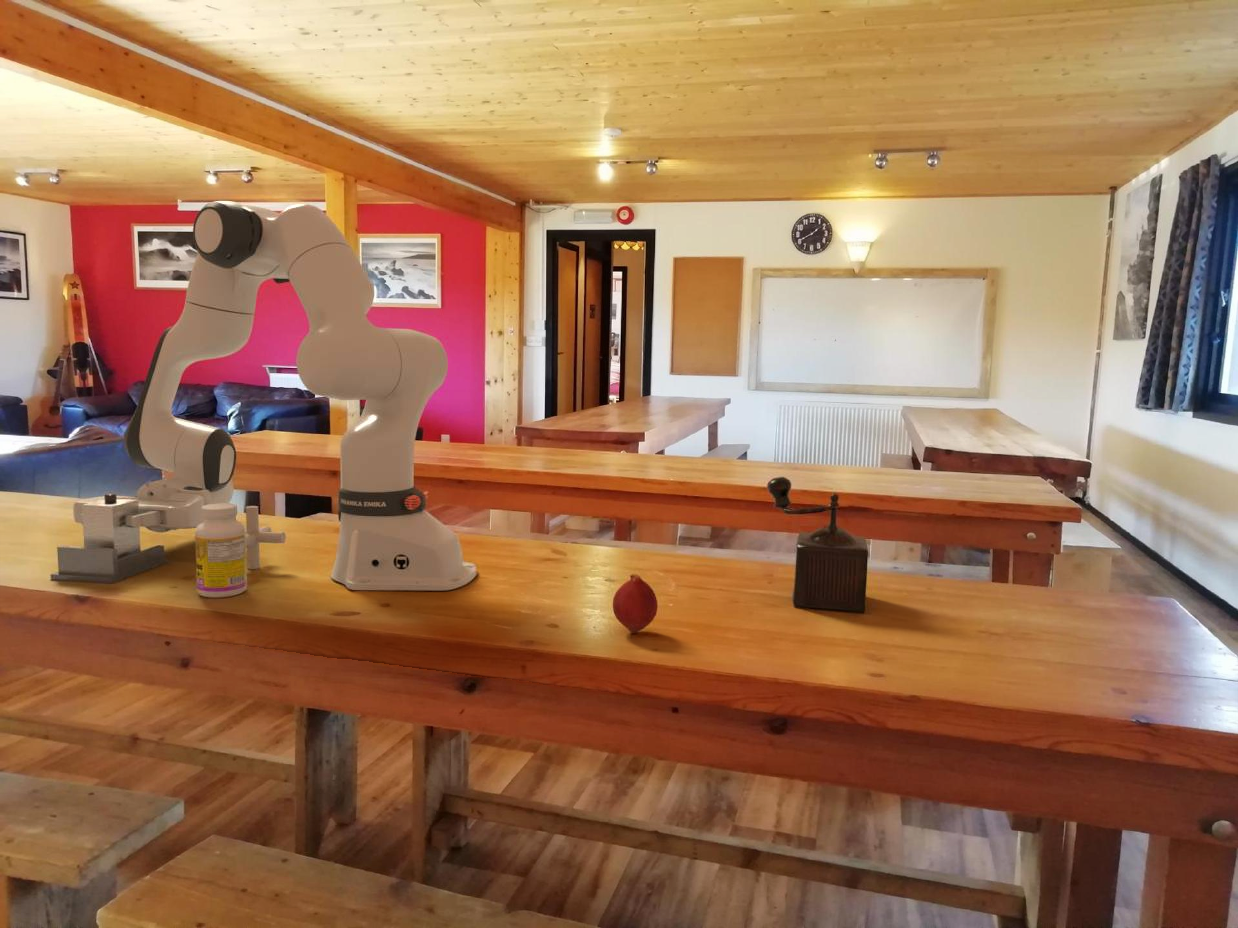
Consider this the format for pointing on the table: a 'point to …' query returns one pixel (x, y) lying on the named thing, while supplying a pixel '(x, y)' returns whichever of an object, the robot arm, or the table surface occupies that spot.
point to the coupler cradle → (104, 563)
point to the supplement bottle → (220, 552)
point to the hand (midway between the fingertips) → (107, 521)
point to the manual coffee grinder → (825, 560)
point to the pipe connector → (258, 537)
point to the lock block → (111, 525)
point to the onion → (635, 604)
